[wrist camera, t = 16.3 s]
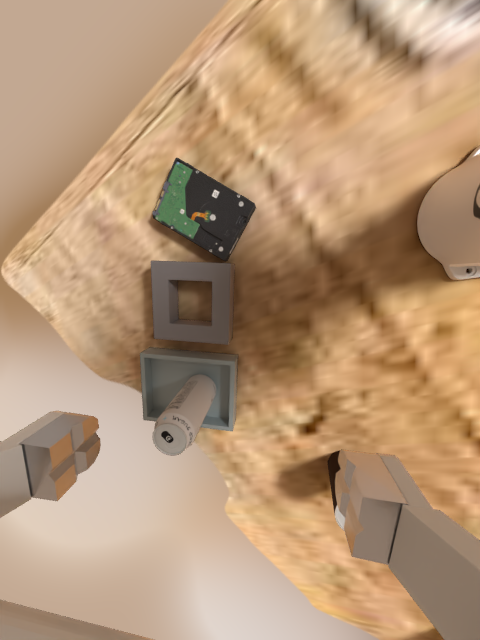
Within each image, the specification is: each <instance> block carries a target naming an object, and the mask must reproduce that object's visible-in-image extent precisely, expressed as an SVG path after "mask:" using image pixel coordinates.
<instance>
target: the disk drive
mask: <svg viewBox="0 0 480 640" xmlns="http://www.w3.org/2000/svg"><path fill="white" fill-rule="evenodd" d="M163 189H164V191H162V193H161V196H160V197H161V198H159V200H158V203H157V205H156V207H155V211H153V218H154V219H156V220H157V221H159V222H161V224H163V225H165V226H167V227H169V228H170V229H172V230H174V231H175V232H177V233H179V234H180V235H182V236H184V237H186V238H187V239H189V240H190V241H192V242H194V243H195V244H197V245H199V246H200V247H202V248H204V249H206V250H207V251H209V252H210V253H212V254H213V255H215V256H217V257H219V258H221V259H222V260H224V261H228V259H229V257H230V255H231V253H232V251H233V250H234V248H235V246H236V244H237V242H238V240H239V239H240V237H241V235H242V233H243V231H244V229H245V227H246V226H247V224H248V222H249V220H250V218H251V216H252V214H253V212H254V211H255V209H256V206H255V203H253V202H251V201H250V200H248V199H247V198H245V197H244V196H242V195H239V194H238V193H236V192H235V191H233V190H231V189H229V188H228V187H226V186H224V185H223V184H221V183H219V182H217V181H216V180H214V179H213V178H211V177H209V176H207V175H206V174H204V173H203V172H201V171H199V170H197V169H195V168H194V167H193V166H191V165H189V164H188V163H185V162H184V161H182V160H180V159H179V158H176V159H175V161H174V164H173V166H172V168H171V170H170V173H169V175H168V178H167V181H166V182H165V184H164V186H163Z"/></svg>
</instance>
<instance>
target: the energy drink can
mask: <svg viewBox="0 0 480 640" xmlns="http://www.w3.org/2000/svg"><path fill="white" fill-rule="evenodd" d="M215 395H216V385H215V383H214V382H213V380H212V379H211V378H209V377H208V376H206V375H202V374H198V375H194V376H192V377H191V378H190V379H189V380H188V381H187V382H186V383H185V385H184V386H183V387H182V389H181V390H180V391H179V392H178V394H177V395H176V396H175V397H174V399H173V400H172V401H171V402H170V404H169V405H168V406H167V408H166V409H165V410H164V411H163V413H162V414H161V415H160V416H159V418H158V419H157V421H156V423H155V430H154V432H153V442H154V444H155V446H156V447H157V449H158V450H159V451H161V452H162V453H164V454H166V455H171V456H174V455H179V454H180V453H182V452H183V451H184V450H185V449H186V448H188V447H189V446H191V445H192V443H193V442H194V440H195V438H196V435H197V433H198V431H199V429H200V427H201V425H202V423H203V421H204V418H205V416H206V414H207V412H208V410H209V408H210V406H211V404H212V401H213V399H214V397H215Z"/></svg>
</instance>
